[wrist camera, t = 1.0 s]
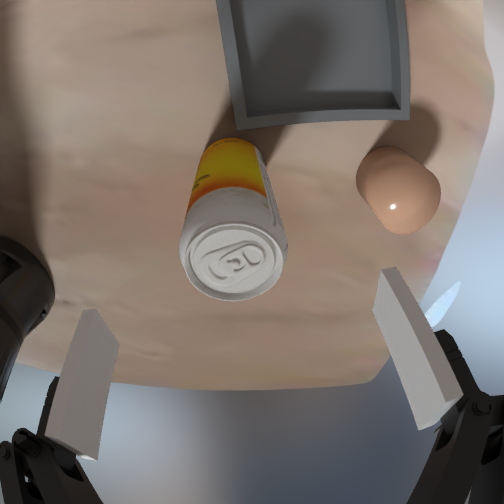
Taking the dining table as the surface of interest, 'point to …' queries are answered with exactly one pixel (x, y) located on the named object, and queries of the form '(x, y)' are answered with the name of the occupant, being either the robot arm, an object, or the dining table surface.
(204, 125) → the dining table surface
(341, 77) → the tray
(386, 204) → the light brown rounded lump
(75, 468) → the robot arm
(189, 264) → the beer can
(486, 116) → the dining table surface
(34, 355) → the dining table surface
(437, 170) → the dining table surface
